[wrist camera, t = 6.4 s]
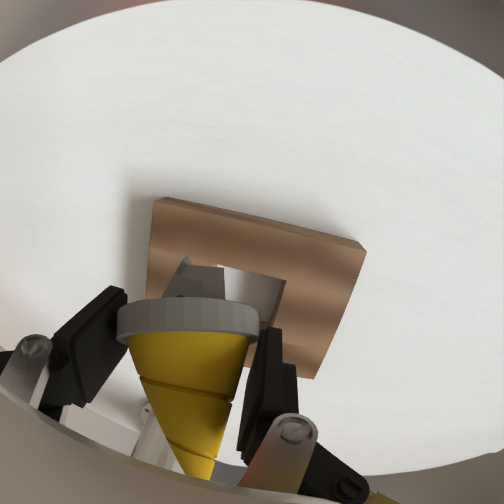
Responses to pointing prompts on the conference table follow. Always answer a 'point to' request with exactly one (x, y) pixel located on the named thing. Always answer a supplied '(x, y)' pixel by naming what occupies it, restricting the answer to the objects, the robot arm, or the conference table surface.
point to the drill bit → (190, 359)
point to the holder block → (263, 269)
